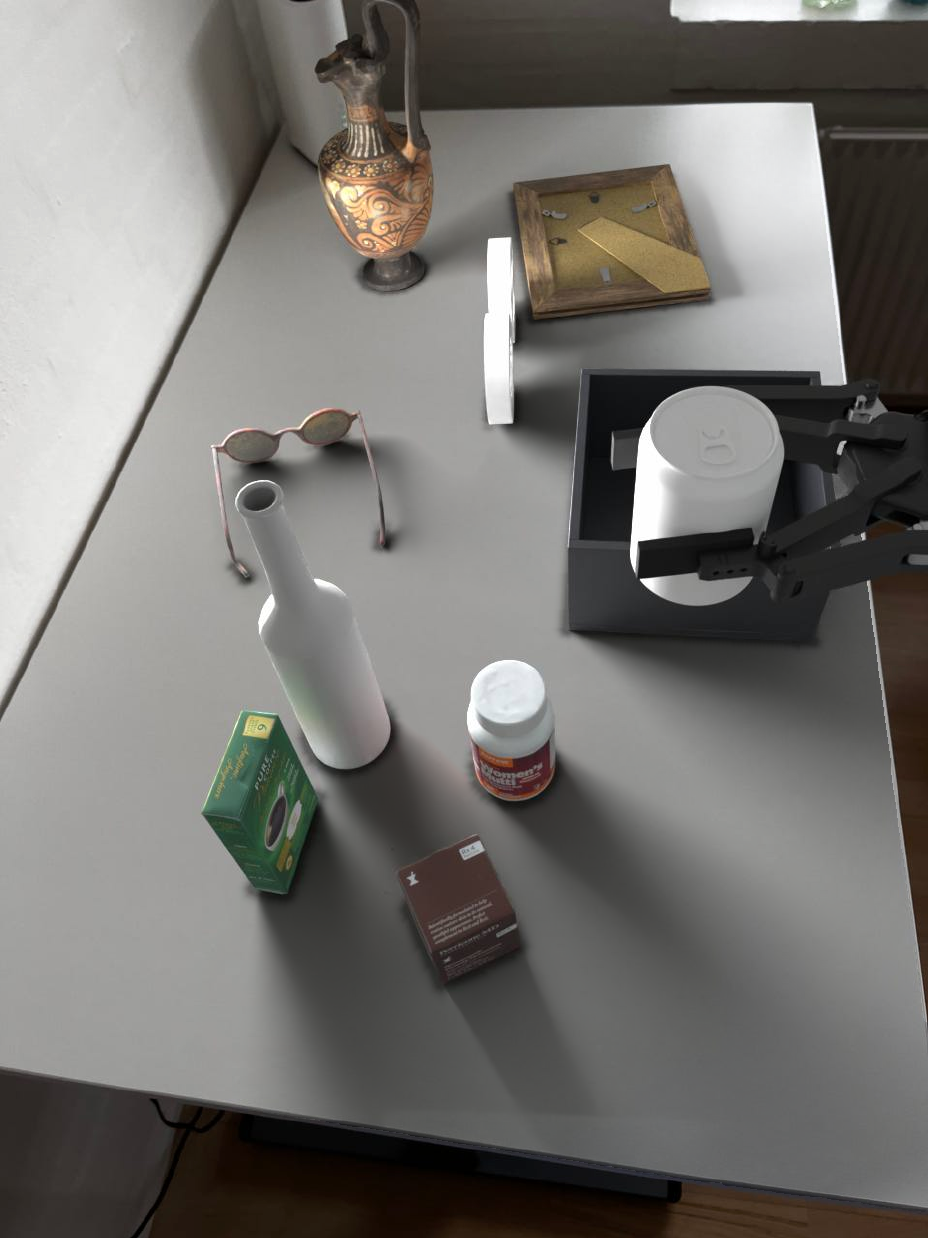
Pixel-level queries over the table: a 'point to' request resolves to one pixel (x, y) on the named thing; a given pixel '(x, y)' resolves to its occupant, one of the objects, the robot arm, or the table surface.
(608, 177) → the picture frame
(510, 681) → the pill bottle
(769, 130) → the table surface
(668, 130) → the table surface
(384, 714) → the bottle
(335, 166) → the vase
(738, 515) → the beverage can
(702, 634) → the storage bin
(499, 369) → the letter
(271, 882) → the coffee box
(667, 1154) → the table surface
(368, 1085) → the table surface
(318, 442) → the eyeglasses
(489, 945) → the box
